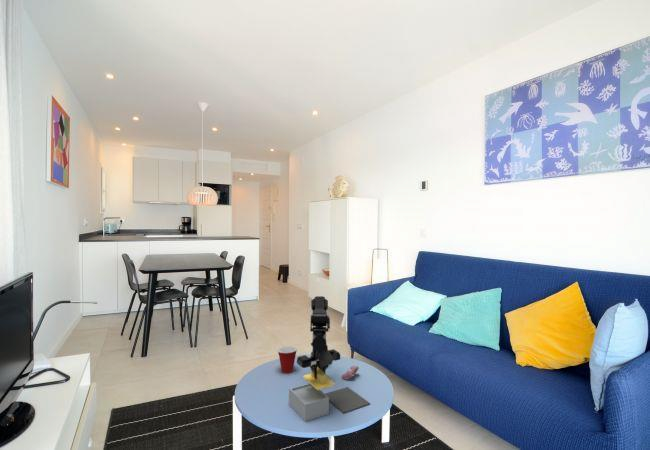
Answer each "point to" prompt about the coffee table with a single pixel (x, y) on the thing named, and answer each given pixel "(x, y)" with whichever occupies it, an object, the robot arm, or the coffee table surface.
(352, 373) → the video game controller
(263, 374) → the coffee table surface
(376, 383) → the coffee table surface
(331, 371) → the coffee table surface
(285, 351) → the plastic cup
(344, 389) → the mat
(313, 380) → the lid
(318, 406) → the box
